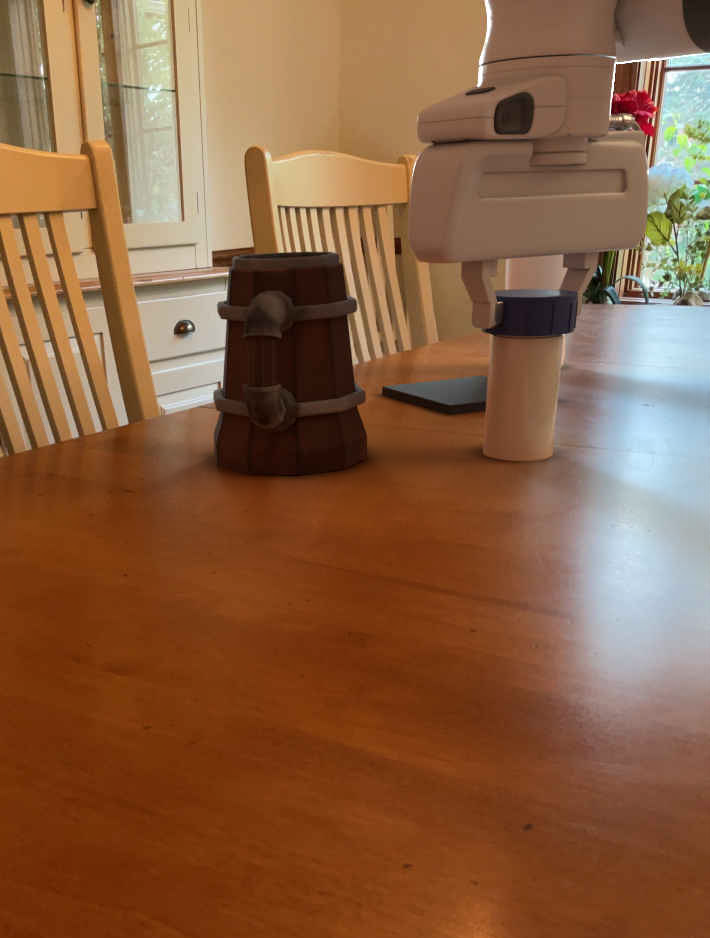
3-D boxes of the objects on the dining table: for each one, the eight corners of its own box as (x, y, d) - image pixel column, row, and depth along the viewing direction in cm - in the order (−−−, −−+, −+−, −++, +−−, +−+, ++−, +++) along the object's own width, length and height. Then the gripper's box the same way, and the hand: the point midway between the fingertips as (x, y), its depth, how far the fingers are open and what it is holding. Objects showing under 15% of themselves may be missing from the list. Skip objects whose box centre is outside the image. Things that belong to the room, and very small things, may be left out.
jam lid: (526, 323, 81) (529, 287, 80) (593, 331, 75) (597, 292, 74) (462, 330, 78) (464, 293, 77) (527, 338, 72) (531, 299, 71)
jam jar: (523, 444, 83) (535, 294, 79) (566, 457, 79) (582, 300, 74) (468, 451, 81) (478, 299, 77) (510, 465, 77) (523, 304, 72)
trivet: (481, 385, 109) (482, 375, 108) (557, 403, 99) (558, 392, 98) (381, 396, 105) (382, 386, 104) (449, 416, 94) (450, 405, 94)
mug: (232, 441, 88) (226, 251, 82) (376, 444, 85) (380, 248, 79) (178, 489, 74) (165, 265, 68) (347, 495, 71) (350, 262, 65)
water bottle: (495, 372, 116) (511, 122, 106) (503, 362, 122) (519, 125, 112) (561, 373, 114) (584, 118, 104) (565, 364, 120) (587, 122, 110)
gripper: (610, 116, 78) (590, 308, 84) (397, 114, 69) (391, 331, 74) (682, 109, 73) (656, 314, 79) (463, 106, 64) (451, 339, 69)
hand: (526, 322), depth 76 cm, fingers closed on jam lid, 6 cm apart
